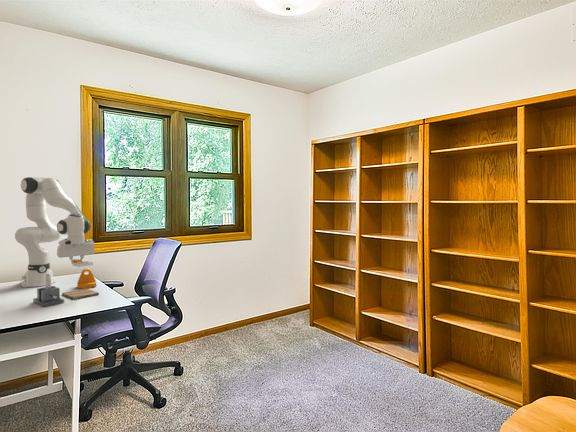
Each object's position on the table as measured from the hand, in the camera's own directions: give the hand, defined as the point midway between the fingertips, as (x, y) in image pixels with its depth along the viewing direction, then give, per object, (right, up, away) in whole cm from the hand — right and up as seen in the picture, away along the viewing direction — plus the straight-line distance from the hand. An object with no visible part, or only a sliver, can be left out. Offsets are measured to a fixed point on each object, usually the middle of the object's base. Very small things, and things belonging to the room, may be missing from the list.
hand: (76, 263), depth 215 cm
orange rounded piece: (-4, -18, +17) cm, 25 cm away
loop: (+4, -1, -3) cm, 5 cm away
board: (+4, -19, -2) cm, 19 cm away
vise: (-4, -20, -19) cm, 28 cm away
